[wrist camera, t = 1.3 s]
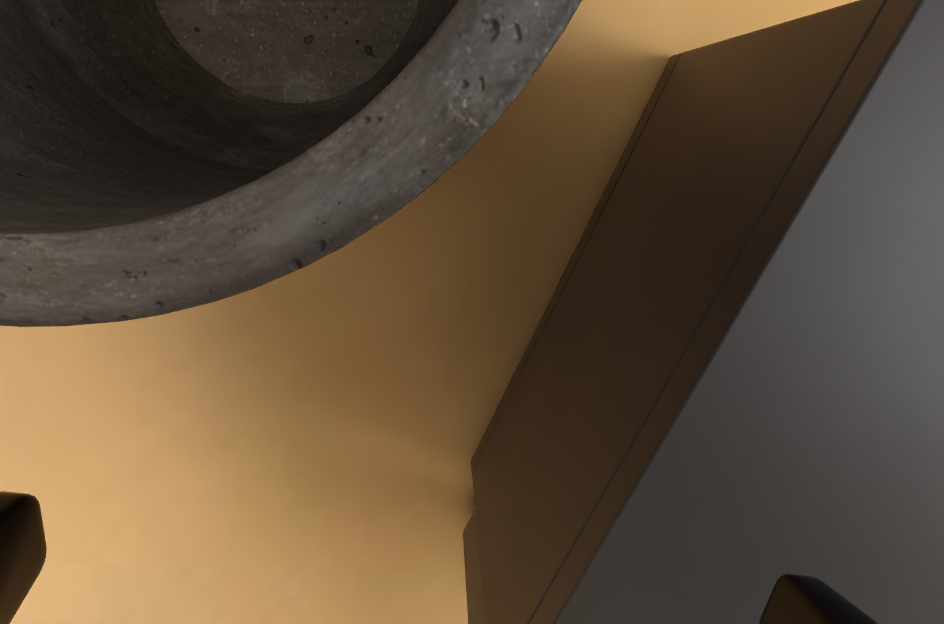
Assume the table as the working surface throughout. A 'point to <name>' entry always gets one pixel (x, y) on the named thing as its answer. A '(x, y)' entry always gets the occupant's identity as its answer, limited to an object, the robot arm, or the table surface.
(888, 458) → the drawer box
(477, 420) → the table surface
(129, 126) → the planter
